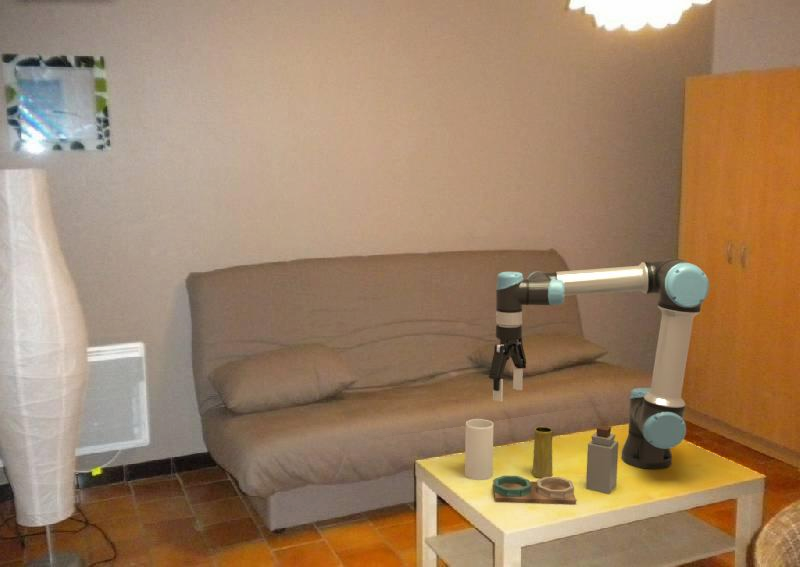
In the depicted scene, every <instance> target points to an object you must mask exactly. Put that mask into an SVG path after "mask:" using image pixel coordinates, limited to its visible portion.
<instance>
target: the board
mask: <svg viewBox="0 0 800 567" xmlns="http://www.w3.org/2000/svg"><path fill="white" fill-rule="evenodd" d="M492 482H493V483H492V484H493V493H494V494H493V495H494V500H495V503H512V504H513V503H518V504H520V503H522V504H523V503H524V504H547V505H548V504H550V505H553V504H554V505H577V499H576V496H575V486H574V483H573V481H572V480H569V479H567V478H564V477H561V476H552V477H544V478H538V479H537V480H536V481H535V480H534V481H530V480H529V479H527V478H524V477H522V476H520V475H502V476H501V475H500V476H498V477H496V478H494V479H493V480H492Z"/></svg>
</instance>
